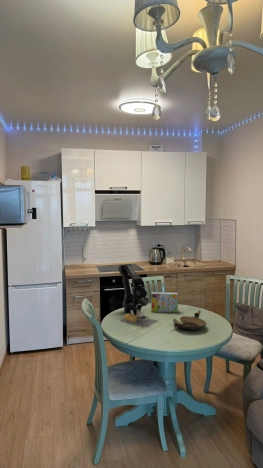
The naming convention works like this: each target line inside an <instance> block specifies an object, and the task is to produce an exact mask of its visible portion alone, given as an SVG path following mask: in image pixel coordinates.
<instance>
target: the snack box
mask: <svg viewBox="0 0 263 468" xmlns="http://www.w3.org/2000/svg"><path fill="white" fill-rule="evenodd" d="M150 297H151V301H150V302H151V303H150V304H151V305H150V307H151V308H150V309H151V312H152V313H153V312H155V313H156V312H157V313H179V293H178V292H160V291H159V292H158V291H156V292H155V291H151V296H150Z"/></svg>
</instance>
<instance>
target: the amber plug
mask: <svg viewBox="0 0 263 468" xmlns="http://www.w3.org/2000/svg"><path fill="white" fill-rule="evenodd" d="M123 319H125V320H129V321H133V322H136V321H137V316H135V315H131V313H126V314H124V315H123Z"/></svg>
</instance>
